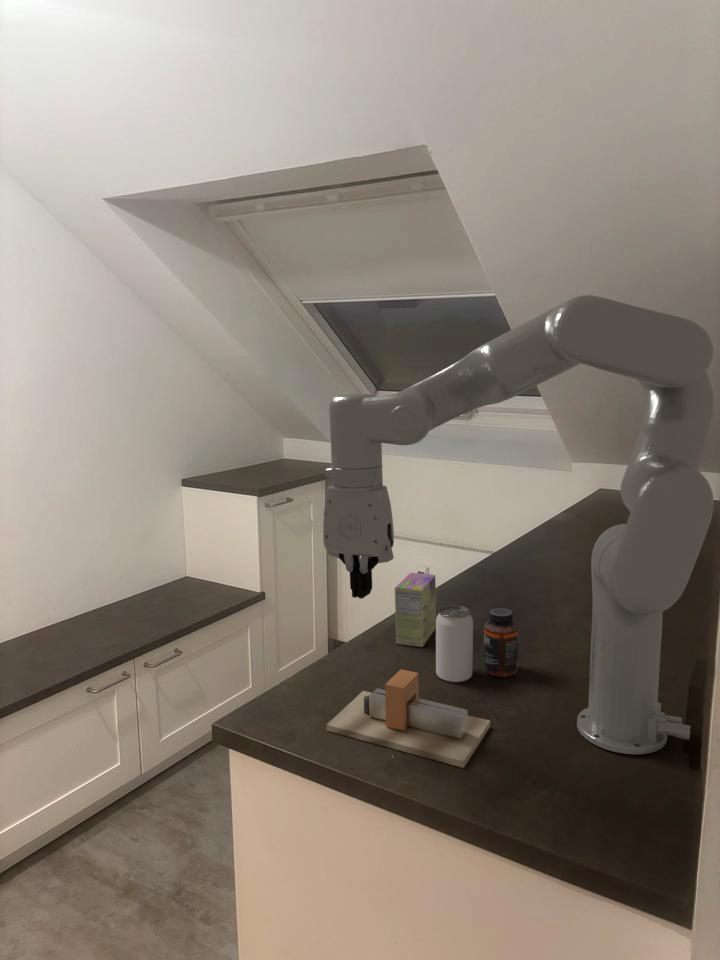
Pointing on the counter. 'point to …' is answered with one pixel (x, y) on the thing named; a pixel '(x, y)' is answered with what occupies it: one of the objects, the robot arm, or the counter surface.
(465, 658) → the can
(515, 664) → the supplement bottle
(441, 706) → the bar
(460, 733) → the jaw
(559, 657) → the counter surface
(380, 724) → the tongs board
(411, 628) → the box
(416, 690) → the orange notched block
